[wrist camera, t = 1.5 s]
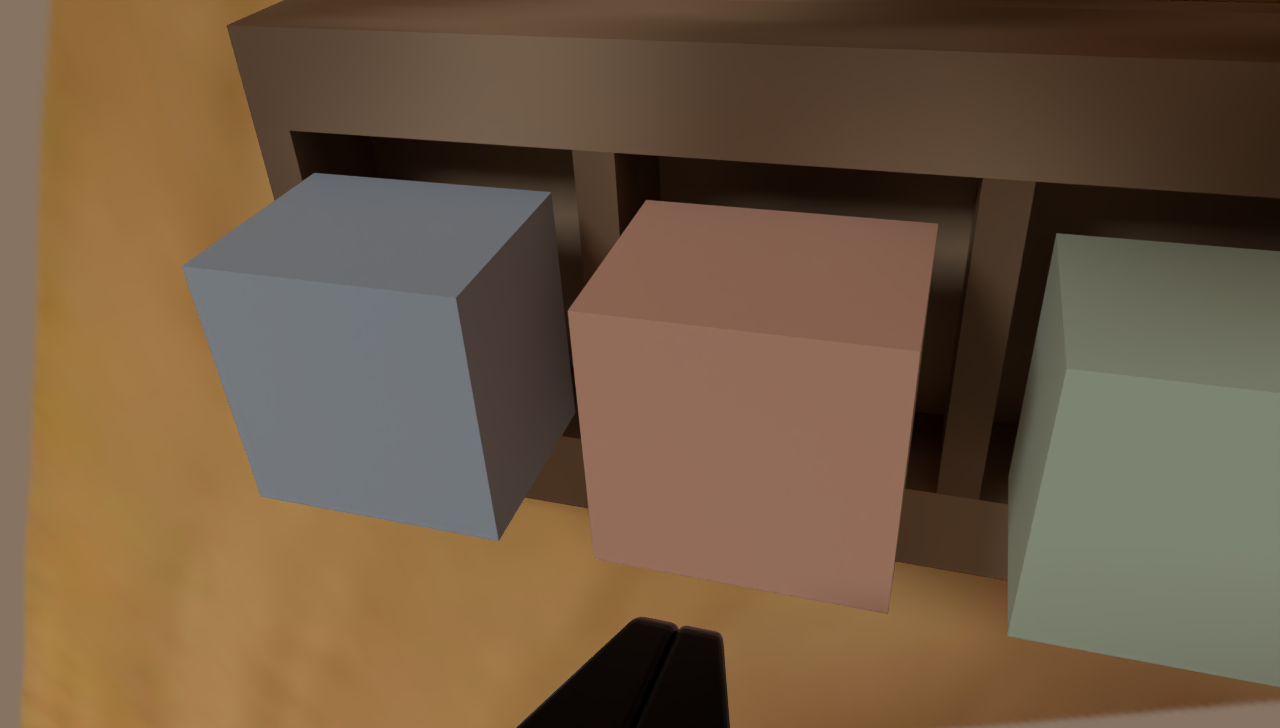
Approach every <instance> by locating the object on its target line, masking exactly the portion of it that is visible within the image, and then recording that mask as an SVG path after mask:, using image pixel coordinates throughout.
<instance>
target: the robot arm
mask: <svg viewBox="0 0 1280 728" xmlns="http://www.w3.org/2000/svg"><path fill="white" fill-rule="evenodd" d="M516 728H730V722H729V709H728V696H727V683H726V670H725V658H724V645H723V638H722V636H721V634H720V633H718V632H715V631H711V630H706V629H701V628H696V627H691V626H683V627H681V628H680V629H678V627H677V626H676V625H675V624H673V623H671V622H666V621H662V620H657V619H652V618H647V617H638V618H635V619H633V620H632V621H631V622H629V623H628V624H627V625H626V626H625V627H624V628H623V629H622V630H621V631H620V632H619V633H618V634H617V635H615V636H614V637H613V638H612V639H611V640H610V641H609V642H608V643H607V644H606V645H605V646H604V647H603V648H601V649H600V650H599V651H598V652H597V653H596V654H595V655H594V656H593V657H592V658H591V659H590V660H589V661H587V662H586V663H585V664H584V665H583V666H582V667H581V668H580V669H579V670H578V671H577V672H576V673H575V674H573V675H572V676H571V677H570V678H569V679H568V680H567V681H566V682H565V683H564V684H563V685H562V686H561V687H559V688H558V689H557V690H556V691H555V692H554V693H553V694H552V695H551V696H550V697H549V698H548V699H547V700H545V701H544V702H543V703H542V704H541V705H540V706H539V707H538V708H537V709H536V710H535V711H534V712H533V713H531V714H530V715H529V716H528V717H527V718H526V719H525V720H524V721H523V722H522V723H521V724H520V725H519V726H517V727H516Z"/></svg>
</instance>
